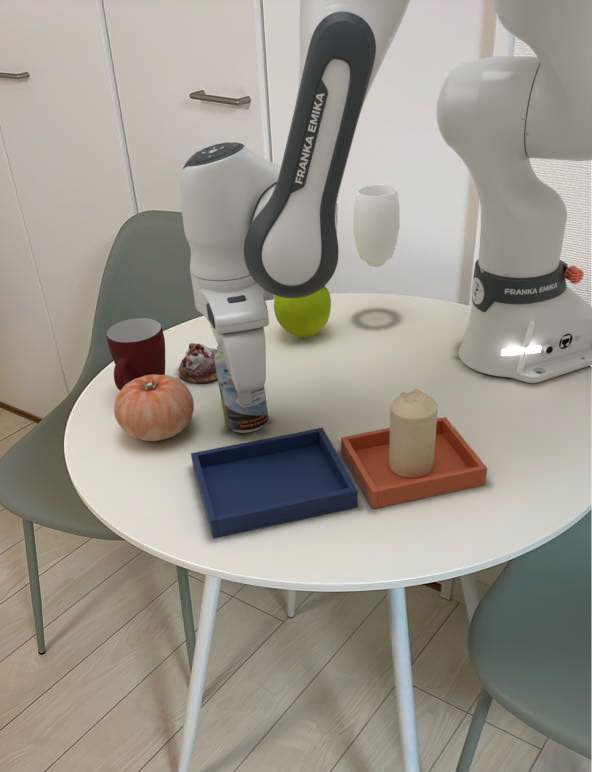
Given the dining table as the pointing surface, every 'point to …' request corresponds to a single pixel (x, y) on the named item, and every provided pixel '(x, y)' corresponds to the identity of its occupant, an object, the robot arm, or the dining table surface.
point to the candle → (412, 434)
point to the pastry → (198, 364)
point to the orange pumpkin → (154, 407)
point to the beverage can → (234, 412)
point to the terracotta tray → (384, 487)
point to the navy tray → (272, 482)
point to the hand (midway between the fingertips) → (239, 389)
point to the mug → (136, 349)
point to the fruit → (303, 313)
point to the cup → (376, 223)
